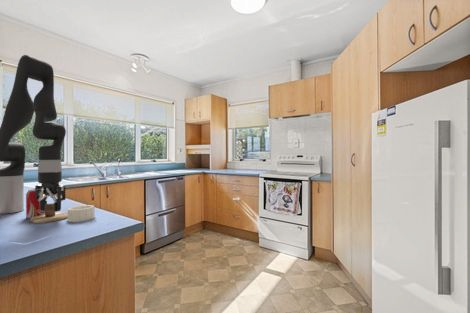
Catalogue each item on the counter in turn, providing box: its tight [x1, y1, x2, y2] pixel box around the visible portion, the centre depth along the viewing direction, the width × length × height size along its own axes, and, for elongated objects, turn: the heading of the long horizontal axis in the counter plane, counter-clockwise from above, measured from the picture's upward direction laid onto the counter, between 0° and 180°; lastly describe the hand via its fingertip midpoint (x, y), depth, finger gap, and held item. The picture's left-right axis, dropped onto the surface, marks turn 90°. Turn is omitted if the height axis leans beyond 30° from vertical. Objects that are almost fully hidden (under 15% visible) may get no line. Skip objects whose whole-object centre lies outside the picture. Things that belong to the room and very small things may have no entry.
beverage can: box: [25, 188, 45, 219], centre depth 96 cm, size 6×6×12 cm
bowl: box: [66, 204, 96, 223], centre depth 93 cm, size 9×9×5 cm
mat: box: [28, 218, 68, 225], centre depth 93 cm, size 13×13×1 cm
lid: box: [30, 202, 68, 224], centre depth 93 cm, size 12×12×6 cm
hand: (50, 210), depth 93 cm, fingers open, 7 cm apart
